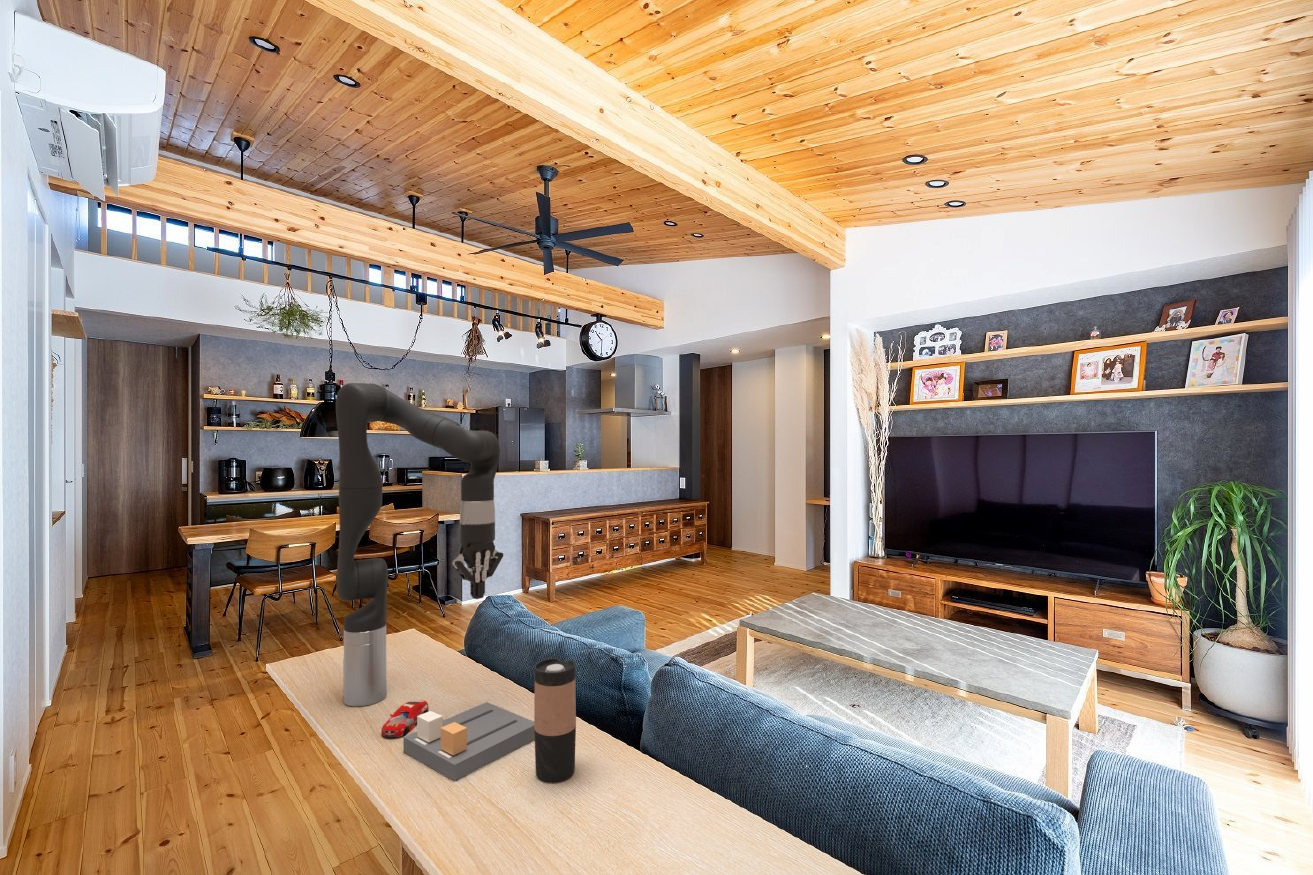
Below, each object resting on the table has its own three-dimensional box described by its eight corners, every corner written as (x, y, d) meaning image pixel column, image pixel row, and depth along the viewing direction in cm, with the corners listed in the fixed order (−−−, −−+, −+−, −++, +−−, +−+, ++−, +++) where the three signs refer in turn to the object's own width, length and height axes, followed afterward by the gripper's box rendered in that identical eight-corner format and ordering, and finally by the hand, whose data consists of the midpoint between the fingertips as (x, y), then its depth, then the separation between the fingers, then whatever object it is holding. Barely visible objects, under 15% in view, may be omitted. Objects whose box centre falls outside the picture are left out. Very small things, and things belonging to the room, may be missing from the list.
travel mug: (541, 788, 107) (541, 675, 107) (529, 767, 114) (529, 661, 114) (581, 777, 111) (581, 668, 111) (568, 757, 118) (567, 655, 118)
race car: (400, 742, 125) (400, 722, 125) (376, 740, 125) (376, 721, 125) (433, 713, 138) (433, 695, 138) (411, 711, 138) (411, 694, 138)
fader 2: (440, 748, 115) (440, 727, 115) (454, 742, 117) (454, 721, 117) (453, 755, 112) (453, 733, 112) (467, 748, 115) (466, 727, 115)
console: (403, 752, 120) (403, 736, 120) (486, 715, 136) (486, 701, 136) (454, 781, 110) (454, 764, 110) (538, 737, 126) (538, 722, 126)
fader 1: (417, 736, 119) (417, 716, 119) (430, 730, 122) (430, 710, 122) (428, 742, 117) (428, 721, 117) (442, 736, 119) (442, 716, 119)
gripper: (491, 515, 142) (491, 589, 142) (441, 522, 131) (441, 601, 131) (512, 518, 137) (512, 594, 137) (462, 525, 127) (462, 607, 127)
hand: (477, 597), depth 134 cm, fingers closed
